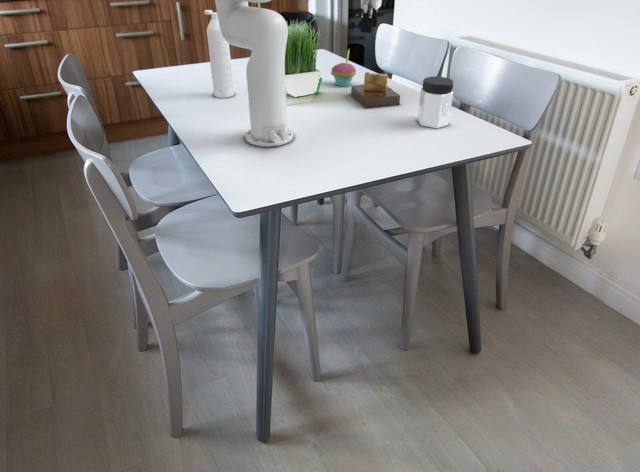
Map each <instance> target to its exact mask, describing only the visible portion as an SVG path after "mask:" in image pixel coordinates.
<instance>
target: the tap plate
mask: <svg viewBox="0 0 640 472" xmlns="http://www.w3.org/2000/svg"><path fill="white" fill-rule="evenodd" d="M350 87H351V89H350V95H351V96H352V97H353V98H354V99H355V100H356V101H358V103H360V104H361V105H362V106H363V107H364V108H365V109H374V108H384V107H392V106H393V107H394V106H400V103H401V95H400V94H398V93H397V92H396V91H394V90H393V89H392V87H390V86H388V85H387V90H386V92H381V91H367V90H364V84H356V85H351V86H350Z"/></svg>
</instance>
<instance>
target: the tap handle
mask: <svg viewBox="0 0 640 472" xmlns="http://www.w3.org/2000/svg"><path fill="white" fill-rule="evenodd" d="M388 75H389V74H388V73H376V72H375V73H374V72H369V71H368V72H367V71H366V72H365V73H364V80H363V85H364V90H367V91H381V92H386V90H387V86H388V77H389V76H388Z"/></svg>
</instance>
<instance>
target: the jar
mask: <svg viewBox="0 0 640 472" xmlns="http://www.w3.org/2000/svg"><path fill="white" fill-rule="evenodd" d="M453 89H454V80H453V79H451V78H450V77H449V78H448V77H445V76H427V77H424V78H423V80H422V87H420V94H419V105H418V111H417V121H418V123H419V124H420V126H422V127H427V128H432V129H433V128H434V129H439V128H443V127H446V126H449V123H450V117H451V111H452V105H453V98H454V91H453Z"/></svg>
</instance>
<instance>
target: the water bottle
mask: <svg viewBox="0 0 640 472" xmlns="http://www.w3.org/2000/svg"><path fill="white" fill-rule="evenodd" d="M203 13H204V15H207V16H209V15H211V19H210V21H209V23H208V25H207V27H206V38H207V45H208V55H209V62H210V63H209V64H210V72H211V81H212V91H213V96H214V97H216V98H221V99H226V98H231V97H233V96H234V94H235V90H234V81H233V71H232V58H231V57H232V56H231V49H230V44H229V43H228V42H227V41H226V40H225V39H224V38H223V36H222V33H221V30H220V27H219V21H218V16H217V11H216V12H215V11H214V12H213V10H212V9H205V10H203Z"/></svg>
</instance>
